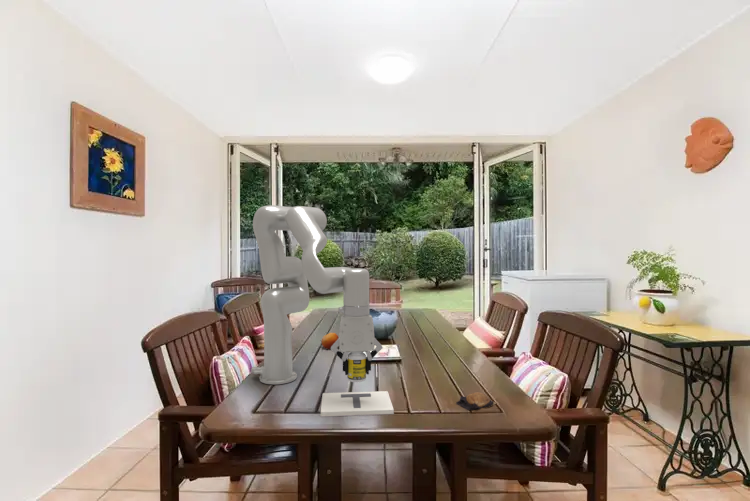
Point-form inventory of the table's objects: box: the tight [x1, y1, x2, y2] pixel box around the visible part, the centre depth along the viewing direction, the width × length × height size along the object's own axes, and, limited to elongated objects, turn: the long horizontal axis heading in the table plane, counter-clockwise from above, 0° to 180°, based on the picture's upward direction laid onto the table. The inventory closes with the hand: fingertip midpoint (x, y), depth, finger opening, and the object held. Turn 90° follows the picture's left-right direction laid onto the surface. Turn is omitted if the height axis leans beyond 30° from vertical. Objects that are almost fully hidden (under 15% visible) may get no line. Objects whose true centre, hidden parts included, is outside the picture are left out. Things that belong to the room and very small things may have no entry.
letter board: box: [320, 390, 395, 418], centre depth 117 cm, size 20×14×1 cm
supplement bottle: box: [346, 352, 367, 383], centre depth 117 cm, size 5×5×10 cm
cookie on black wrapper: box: [455, 391, 497, 413], centre depth 118 cm, size 11×8×4 cm
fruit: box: [320, 332, 339, 350], centre depth 181 cm, size 8×8×8 cm
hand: (356, 372), depth 117 cm, fingers closed on supplement bottle, 5 cm apart
